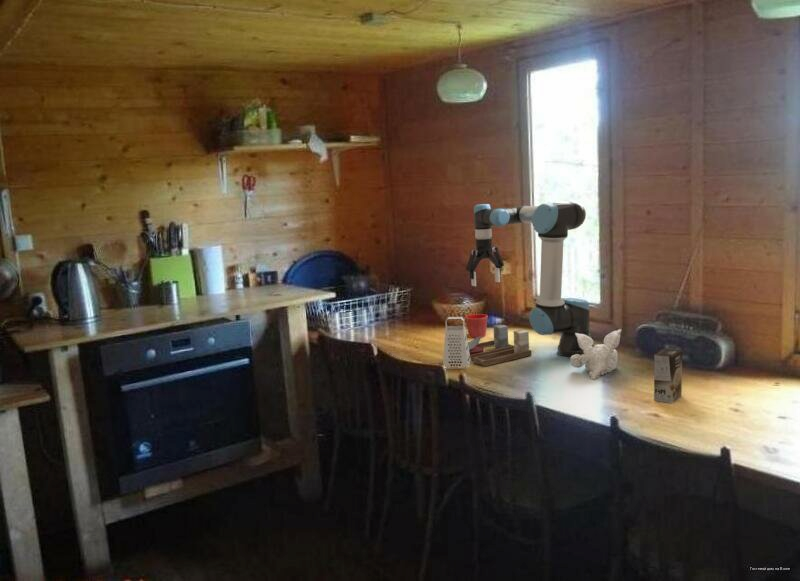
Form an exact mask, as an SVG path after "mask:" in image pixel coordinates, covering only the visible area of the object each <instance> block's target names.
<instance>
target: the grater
mask: <svg viewBox="0 0 800 581" xmlns="http://www.w3.org/2000/svg"><path fill="white" fill-rule="evenodd" d="M448 320H461V321H462V322H463V323H462V324H463V325H448V324H447V323H448ZM444 323H445V324H444V325H445V330H444V343H443V344H444V345H443V356H442V358H443V359H442V366H443V365H445V367H458V368H457V369H463V368H462V367H466V368H465V369H468V368H467V367H469V368H470V365H469V364H471V362H472V360H471V358H469V356H470V352H469V346H468V342H469V341H468V336H467V327H466V324H465V317H463V316H448V317H447V318H446V319H445V322H444ZM468 358H469V361H468ZM450 360H451V361H450ZM453 360H454V361H453ZM470 361H471V362H470ZM460 367H461V368H460Z"/></svg>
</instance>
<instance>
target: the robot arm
mask: <svg viewBox="0 0 800 581" xmlns="http://www.w3.org/2000/svg"><path fill="white" fill-rule="evenodd" d="M586 216H587V214H586V209H585V207H584V206H583V204H582V203H580V202H579V201H576V200H565V201H564V200H563V201H554V202H553V201H552V202H546V203H542V204H541V203H540V204H539V205H532V206H531V205H530V206H529V205H520V206H512V207H501V208H491V205H490V204H489V203H482V204H476V205H474V206H473V219H474V220H473V221H474V235H475V236H474V237H475V247H476V249H471V250H470V254H469V255H470V256H469V259H468V261H467V264H466V268H465V271H467V272H469V278H470V280H471V286H472V287H477V272H476V269H477V267H478V266H479V264H480V262H481V261H482V260H484V259H489V260H490V261H491V263H492V264H493V265H494V266H495V267H494V282H495V283H501V277H500V275H502V273H501V271H502V270H501V269H502V268H503V267H504V265H505V263H504V261H503V259H502V257H501V255H500V253H499V249H498V247H496V246H493V238H492V237H493V233H492V232H493V231H492V230H493V229H492V227H504V226H506V225H517V224H532V227H533V229H534V231H535V232H536V233H537V237H538V238H539V239H540V240H541V247H540V248H541V249H540V273H539V275H540V277H539V278H540V279H539V283H540V284H539V297H538V298H537V299H536V300H535V307H533V308H531V310H530V311H529V315H528V316H529V317H528V318H529V324H530V325H531V327H532V329H533V330H534V332H536V333H537V334H538V335H540V336H549V335H553V334H557V333H561V336H560V339H559V343H558V345H557V354H558V355H561V356H565V357H570V358H571V356H572V355H575V354H579V355H582V354H585V353H584V352H583V351H584V350H582V349H581V348H580V347H579V344H578V341H577V337H576V335H575V333H578V334H584V335H587V336H589V337H590V338H592V337H591V334H590V332H591V331H590V318H591V316H590V311H591V310H590V303H589V301H588V300H586V299H583V298H573V297H564V298H563V297H562V285H563V284H562V283H563V264H564V263H563V261H564V242H565V240H566V239H568V234H569V231H570V230H576V229H577V228H580V227H581V226H582V225H583V224H584V223H585V220H586ZM492 246H493V247H492ZM594 346H595V345H594V344H593V345H592V347H593V348H594Z"/></svg>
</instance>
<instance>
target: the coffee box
mask: <svg viewBox="0 0 800 581" xmlns="http://www.w3.org/2000/svg"><path fill="white" fill-rule="evenodd" d="M653 355H654V356H653V357H654V358H653V359H654V360H653V362H654V364H653V365H654V366H653V368H654V369H653V370H654V371H653V372H654V374H653V378H654V379H653V380H654V381H653V400H654V401H656V402H662V403H667V404H674V402H676V401H677V400H678V399H680V398H681V397H682V395H683V394H682V391H683V389H682V388H683V387H682V384H683V350H679V349H674V348H672V349H671V348H670V349H669V348H663V349H661V350H660V351H658V352H656V353H654V354H653Z"/></svg>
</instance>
